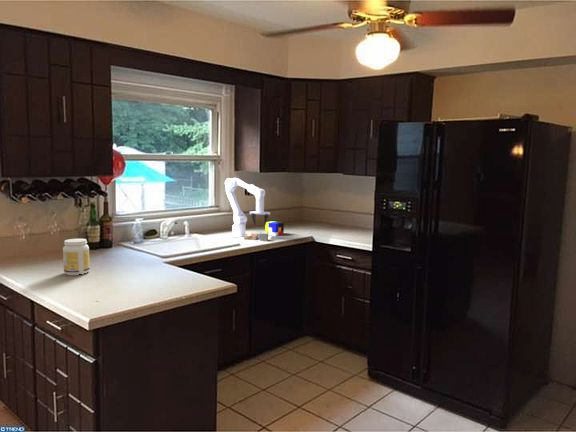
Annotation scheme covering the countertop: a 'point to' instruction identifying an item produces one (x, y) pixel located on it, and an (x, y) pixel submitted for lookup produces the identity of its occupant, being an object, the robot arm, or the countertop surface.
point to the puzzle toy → (274, 228)
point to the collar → (251, 237)
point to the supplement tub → (76, 257)
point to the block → (263, 236)
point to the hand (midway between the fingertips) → (259, 224)
